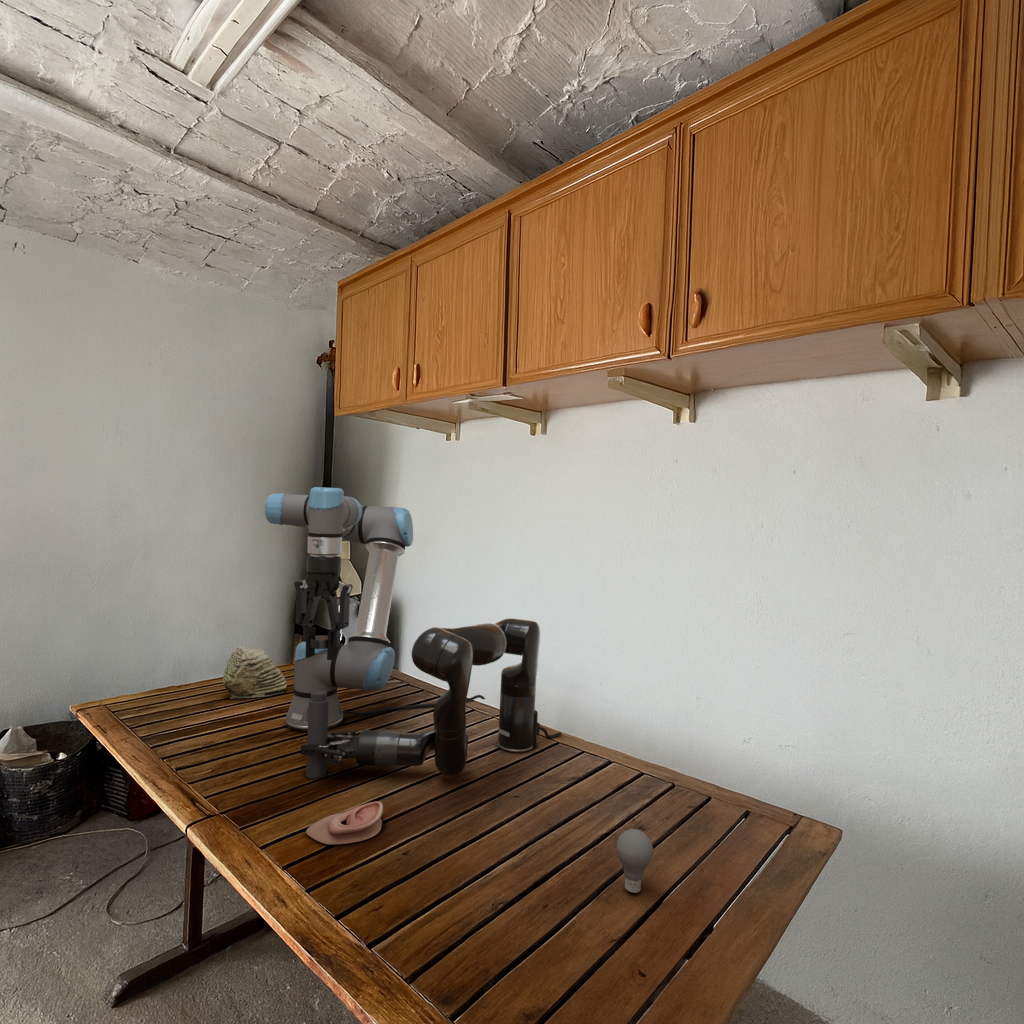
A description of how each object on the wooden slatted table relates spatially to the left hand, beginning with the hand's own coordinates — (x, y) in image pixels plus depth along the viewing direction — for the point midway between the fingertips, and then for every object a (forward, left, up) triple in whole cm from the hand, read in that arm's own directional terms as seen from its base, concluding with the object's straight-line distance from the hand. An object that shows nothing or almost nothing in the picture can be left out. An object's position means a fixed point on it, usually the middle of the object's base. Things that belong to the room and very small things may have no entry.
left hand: (320, 657), depth 144 cm
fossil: (-19, -61, -27) cm, 70 cm away
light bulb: (-10, +75, -27) cm, 80 cm away
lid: (0, 0, +4) cm, 4 cm away
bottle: (0, 0, -27) cm, 27 cm away
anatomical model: (+11, +25, -27) cm, 38 cm away
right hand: (+2, -2, -20) cm, 20 cm away
